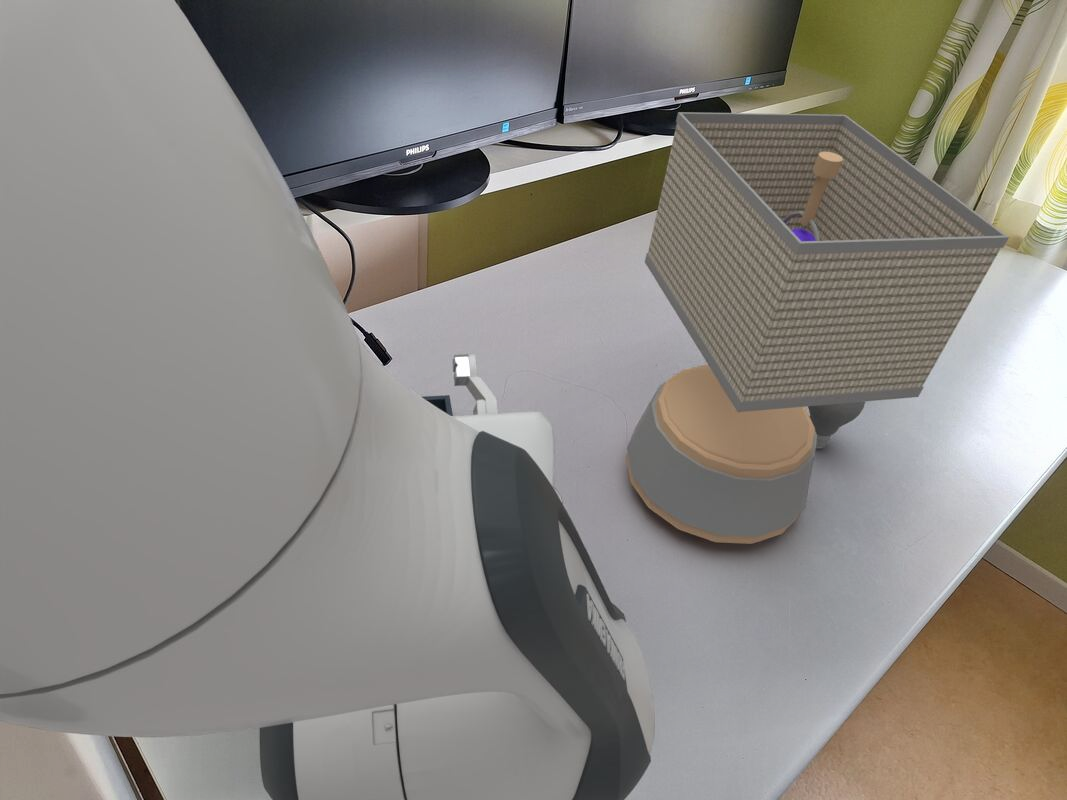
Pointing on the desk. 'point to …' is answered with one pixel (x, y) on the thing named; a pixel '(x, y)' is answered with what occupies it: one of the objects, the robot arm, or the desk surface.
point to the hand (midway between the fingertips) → (394, 359)
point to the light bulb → (832, 419)
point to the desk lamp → (790, 306)
